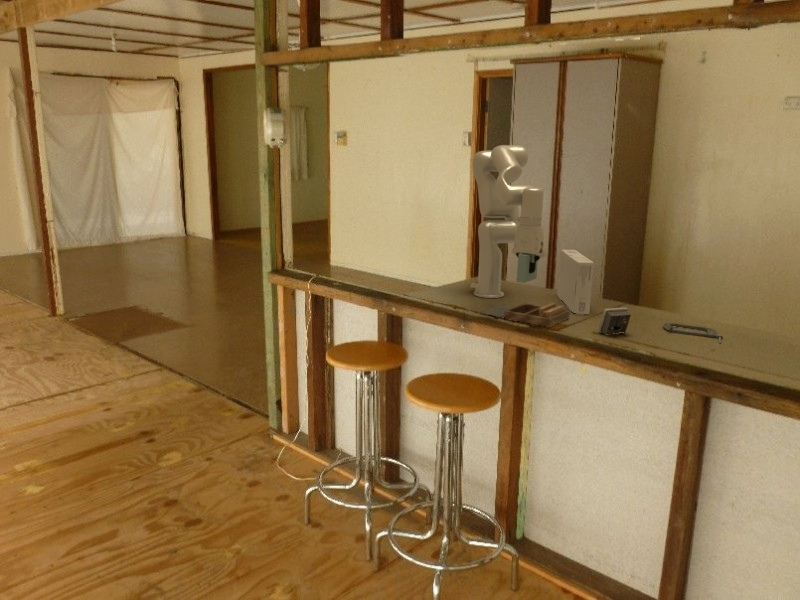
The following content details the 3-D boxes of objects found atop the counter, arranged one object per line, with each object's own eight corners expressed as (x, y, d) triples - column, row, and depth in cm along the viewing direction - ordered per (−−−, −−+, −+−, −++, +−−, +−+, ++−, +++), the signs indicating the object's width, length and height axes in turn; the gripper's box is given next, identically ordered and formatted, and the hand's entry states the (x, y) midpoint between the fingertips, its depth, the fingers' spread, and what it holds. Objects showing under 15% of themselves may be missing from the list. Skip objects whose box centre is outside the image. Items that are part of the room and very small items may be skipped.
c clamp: (726, 333, 236) (727, 325, 235) (721, 345, 221) (722, 337, 221) (665, 324, 246) (666, 317, 245) (656, 335, 231) (657, 328, 231)
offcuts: (537, 323, 241) (538, 308, 240) (551, 317, 250) (552, 302, 249) (548, 325, 238) (550, 310, 237) (563, 319, 248) (564, 304, 246)
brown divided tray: (503, 318, 246) (504, 311, 246) (524, 310, 259) (525, 303, 258) (549, 327, 236) (550, 319, 235) (569, 318, 248) (569, 310, 248)
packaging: (589, 314, 255) (594, 262, 251) (573, 314, 255) (577, 262, 251) (571, 296, 285) (575, 249, 280) (557, 296, 285) (560, 249, 280)
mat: (481, 314, 252) (481, 312, 252) (501, 306, 265) (501, 305, 265) (502, 318, 247) (502, 316, 247) (522, 310, 259) (522, 308, 259)
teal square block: (516, 281, 244) (518, 254, 242) (529, 277, 252) (531, 251, 250) (524, 282, 243) (525, 255, 240) (536, 278, 250) (538, 252, 248)
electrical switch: (620, 330, 234) (624, 305, 231) (629, 336, 230) (633, 310, 227) (597, 332, 231) (601, 307, 228) (605, 338, 227) (609, 312, 224)
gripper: (505, 220, 244) (502, 270, 248) (547, 225, 234) (543, 276, 239) (515, 219, 250) (512, 267, 254) (556, 223, 240) (552, 273, 245)
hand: (527, 271), depth 247 cm, fingers closed on teal square block, 3 cm apart
